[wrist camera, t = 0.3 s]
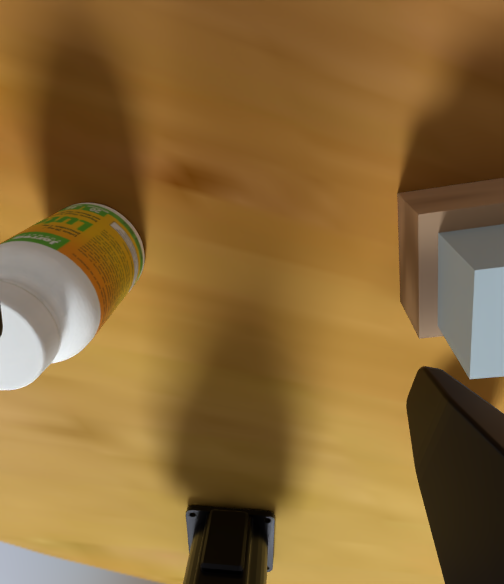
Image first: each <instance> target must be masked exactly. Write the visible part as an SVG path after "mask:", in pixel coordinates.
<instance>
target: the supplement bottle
mask: <svg viewBox="0 0 504 584" xmlns="http://www.w3.org/2000/svg"><path fill="white" fill-rule="evenodd" d="M144 261H145V255H144V248H143V244H142V241H141V238H140V236H139V234H138V232H137V231H136V229H135V228H134V226H133V225H132V224H131V223H130V222H129V221H128V220H127V219H126V218H125V217H124V216H123V215H122V214H120V213H119V212H117V211H116V210H114V209H112V208H110V207H107V206H105V205H101V204H97V203H78V204H74V205H71V206H69V207H66V208H64V209H62V210H60V211H58V212H57V213H55V214H53V215H51V216H49V217H47V218H46V219H44V220H42V221H40V222H38V223H36V224H35V225H33V226H31V227H29V228H27V229H26V230H24V231H22V232H20V233H19V234H17V235H15V236H13V237H11V238H10V239H8V240H6V241H4V242H2V243H0V305H1V313H2V322H3V331H2V335H1V337H0V390H14V389H18V388H22V387H24V386H27V385H28V384H30V383H32V382H33V381H34V380H35V379H36V378H37V377H38V376H39V375H40V374H41V373H42V372H43V371H44V370H45V369H46V368H47V367H48V366H49V365H50V364H51V363H56V362H60V361H63V360H66V359H69V358H71V357H73V356H74V355H76V354H78V353H79V352H80V351H81V350H83V349H84V347H85V346H86V345H87V344H88V343H89V342H90V341H91V340H92V339H93V337H94V336H95V335H96V334H97V332H98V331H99V330H100V328H101V327H102V326H103V324H104V323H105V322H106V321H107V319H108V318H109V317H110V315H111V314H112V313H113V311H114V310H115V309H116V308H117V306H118V305H119V304H120V302H121V301H122V300H123V299H124V297H125V296H126V295H127V293H128V292H129V291H130V290H131V289H132V287H133V286H134V285H135V283H136V282H137V280H138V279H139V277H140V275H141V273H142V271H143V267H144Z"/></svg>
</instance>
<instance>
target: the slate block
mask: <svg viewBox="0 0 504 584" xmlns="http://www.w3.org/2000/svg"><path fill="white" fill-rule="evenodd" d="M438 327H439V329H440V331H441V332H442V334H443V336H444V337H445V339H446V341H447V342H448V344H449V346H450V347H451V349H452V351H453V352H454V354H455V356H456V357H457V359H458V361H459V362H460V364H461V366H462V367H463V369H464V371H465V372H466V374H467V376H468V377H469V379H479V378H491V377H502V376H504V224H501V225H493V226H486V227H479V228H471V229H464V230H456V231H449V232H441V233H438Z"/></svg>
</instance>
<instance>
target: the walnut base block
mask: <svg viewBox="0 0 504 584" xmlns="http://www.w3.org/2000/svg"><path fill="white" fill-rule="evenodd" d="M397 197H398V232H399V268H400V302H401V304H402V306H403V308H404V310H405V312H406V314H407V315H408V317H409V319H410V321H411V323H412V325H413V327H414V329H415V331H416V333H417V335H418V337H419V338H429V337H439V336H443V334H442V332H441V331H440V329H439V327H438V233H441V232H449V231H456V230H464V229H471V228H479V227H486V226H493V225H501V224H504V178H498V179H491V180H484V181H478V182H471V183H464V184H457V185H450V186H443V187H436V188H430V189H423V190H416V191H409V192H402V193H397Z"/></svg>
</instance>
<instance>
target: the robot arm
mask: <svg viewBox="0 0 504 584" xmlns="http://www.w3.org/2000/svg"><path fill="white" fill-rule="evenodd" d="M2 331H3V322H2V313H1V305H0V337H1V335H2ZM406 407H407V415H408V422H409V429H410V436H411V443H412V450H413V457H414V464H415V469H416V474H417V479H418V483H419V487H420V491H421V494H422V498H423V502H424V506H425V509H426V513H427V517H428V521H429V525H430V528H431V532H432V536H433V540H434V543H435V547H436V551H437V555H438V558H439V562H440V566H441V570H442V574H443V577H444V581H445V584H504V414H503V413H502V412H501V411H499V410H498V409H496V408H495V407H494V406H492V405H491V404H489V403H488V402H487V401H485V400H484V399H482V398H481V397H480V396H478V395H477V394H475V393H474V392H473V391H471V390H470V389H468V388H467V387H466V386H464V385H463V384H461V383H460V382H459V381H457V380H456V379H454V378H453V377H452V376H450V375H449V374H447V373H446V372H445V371H443V370H441V369H438V368H432V367H426V366H423V367H421V368H420V369H419V370H418V372H417V374H416V377H415V379H414V382H413V384H412V387H411V390H410V392H409V395H408V398H407V404H406ZM186 522H187V533H188V544H189V558H188V563H187V567H186V572H185V577H184V581H183V584H266V580H267V572H270V571H271V570H272V569H273V545H274V522H275V515H274V513H272V512H270V511H261V510H248V509H234V508H221V507H208V506H194V505H192V506H189V507H188V508H187V511H186Z"/></svg>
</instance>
